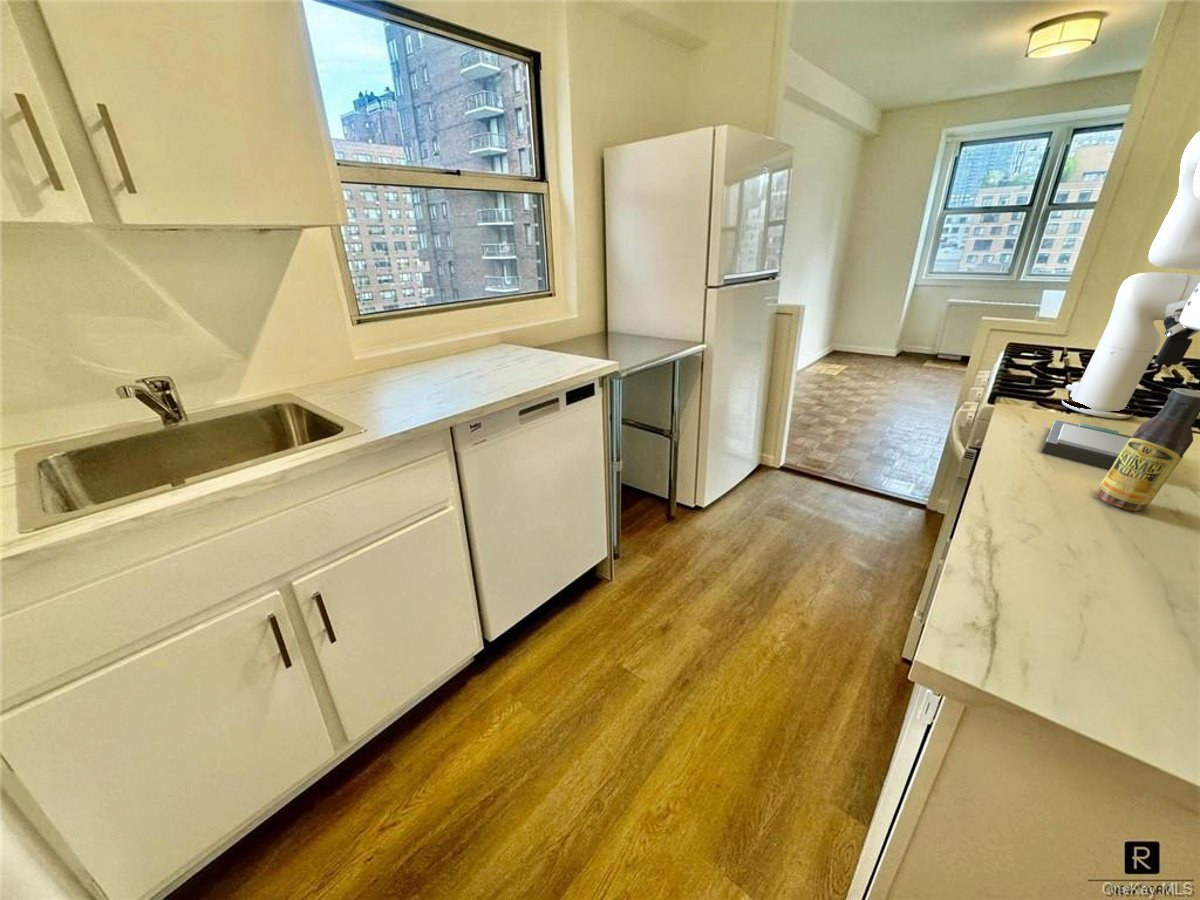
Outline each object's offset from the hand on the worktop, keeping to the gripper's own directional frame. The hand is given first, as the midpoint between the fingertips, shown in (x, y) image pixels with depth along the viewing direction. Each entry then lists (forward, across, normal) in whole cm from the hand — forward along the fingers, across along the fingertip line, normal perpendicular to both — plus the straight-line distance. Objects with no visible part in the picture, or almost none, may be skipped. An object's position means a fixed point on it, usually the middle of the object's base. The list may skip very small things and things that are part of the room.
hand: (1198, 373), depth 70 cm
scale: (+22, +20, -11) cm, 32 cm away
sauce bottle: (+23, 0, 0) cm, 23 cm away
